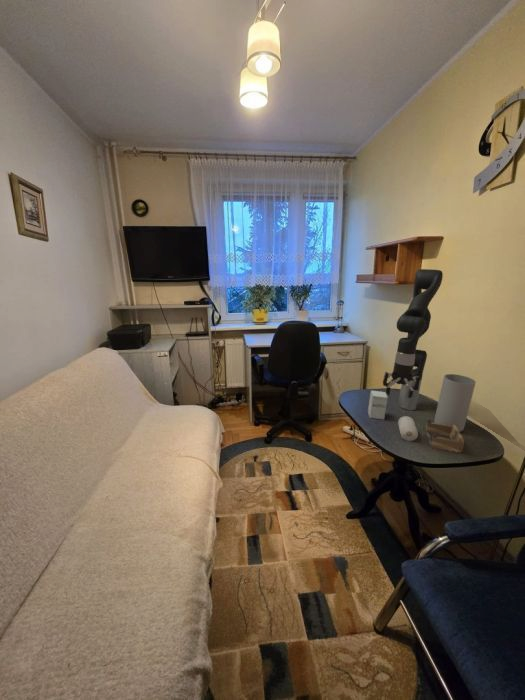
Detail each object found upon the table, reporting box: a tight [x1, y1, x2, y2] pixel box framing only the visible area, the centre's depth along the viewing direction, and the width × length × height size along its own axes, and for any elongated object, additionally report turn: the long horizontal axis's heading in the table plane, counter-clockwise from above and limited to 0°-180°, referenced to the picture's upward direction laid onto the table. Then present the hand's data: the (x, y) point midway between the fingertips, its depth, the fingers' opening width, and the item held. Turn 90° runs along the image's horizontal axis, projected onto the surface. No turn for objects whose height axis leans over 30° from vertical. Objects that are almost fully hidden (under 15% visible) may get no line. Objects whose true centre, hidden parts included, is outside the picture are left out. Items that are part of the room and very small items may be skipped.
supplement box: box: [367, 390, 389, 420], centre depth 147 cm, size 7×7×13 cm
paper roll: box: [397, 415, 419, 442], centre depth 132 cm, size 10×7×7 cm
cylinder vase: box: [433, 373, 477, 433], centre depth 138 cm, size 12×12×25 cm
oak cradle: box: [424, 418, 465, 453], centre depth 127 cm, size 14×11×7 cm
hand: (398, 396), depth 128 cm, fingers open, 8 cm apart
